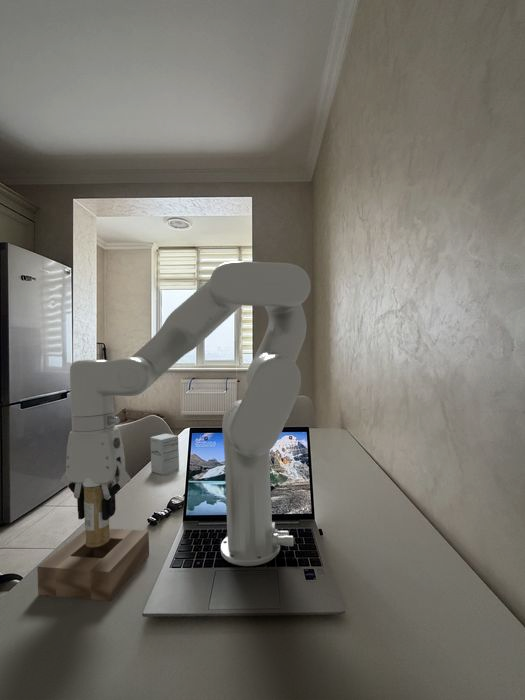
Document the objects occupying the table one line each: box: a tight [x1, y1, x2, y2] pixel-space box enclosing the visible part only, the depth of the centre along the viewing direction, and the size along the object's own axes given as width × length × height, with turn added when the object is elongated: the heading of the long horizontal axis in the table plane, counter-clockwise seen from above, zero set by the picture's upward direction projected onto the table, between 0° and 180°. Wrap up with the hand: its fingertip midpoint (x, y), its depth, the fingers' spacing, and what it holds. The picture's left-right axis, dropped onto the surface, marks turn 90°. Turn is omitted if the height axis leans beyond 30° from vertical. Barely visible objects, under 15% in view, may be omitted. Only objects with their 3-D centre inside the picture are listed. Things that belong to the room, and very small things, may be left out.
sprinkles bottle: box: [83, 478, 111, 548], centre depth 69 cm, size 5×5×13 cm
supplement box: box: [150, 433, 180, 476], centre depth 128 cm, size 7×7×13 cm
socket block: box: [36, 528, 150, 602], centre depth 69 cm, size 14×14×5 cm
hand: (96, 515), depth 69 cm, fingers closed on sprinkles bottle, 4 cm apart
